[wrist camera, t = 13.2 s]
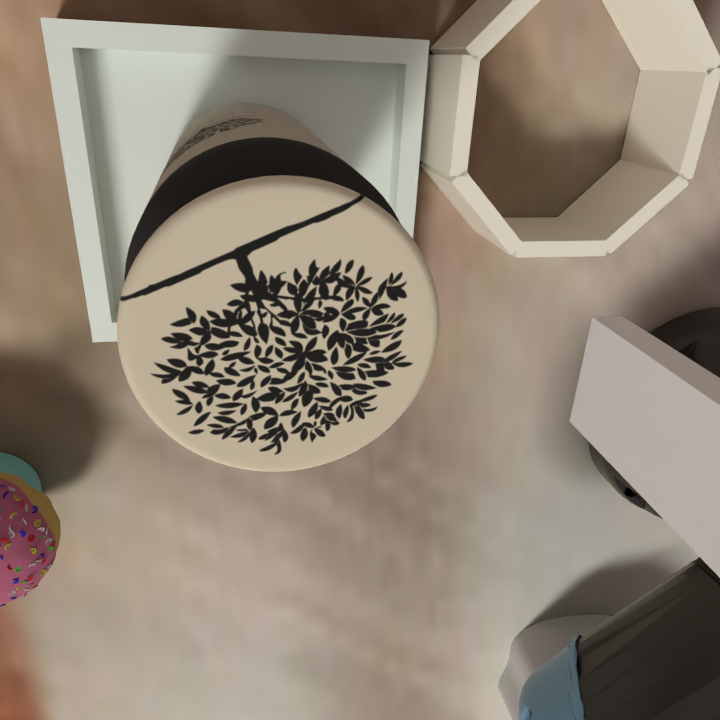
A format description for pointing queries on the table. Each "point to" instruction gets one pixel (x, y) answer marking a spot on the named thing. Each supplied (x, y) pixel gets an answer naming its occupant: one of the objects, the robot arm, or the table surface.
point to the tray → (206, 93)
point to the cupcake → (24, 529)
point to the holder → (642, 141)
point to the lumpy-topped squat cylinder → (540, 651)
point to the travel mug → (272, 298)
